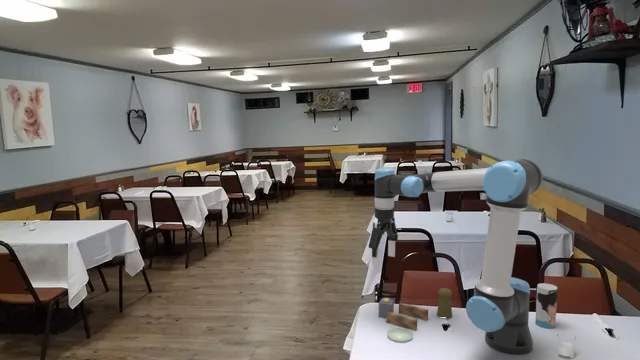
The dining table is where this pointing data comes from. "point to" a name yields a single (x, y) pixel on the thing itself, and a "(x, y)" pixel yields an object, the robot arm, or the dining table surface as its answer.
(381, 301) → the plug
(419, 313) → the guide channel
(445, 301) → the cork
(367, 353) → the dining table surface
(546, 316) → the cup
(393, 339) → the saucer
